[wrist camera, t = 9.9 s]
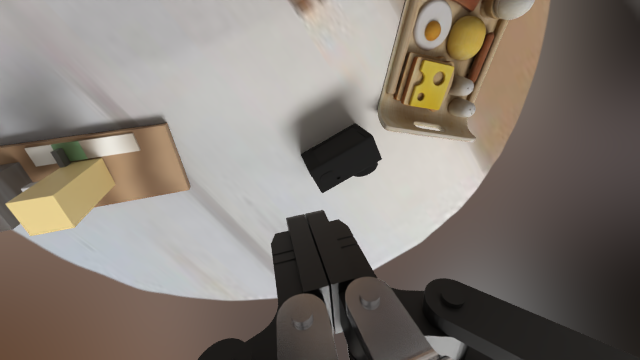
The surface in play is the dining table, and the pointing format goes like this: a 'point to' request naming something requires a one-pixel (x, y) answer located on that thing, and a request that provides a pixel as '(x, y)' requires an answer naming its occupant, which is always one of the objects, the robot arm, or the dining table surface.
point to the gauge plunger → (62, 195)
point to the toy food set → (442, 64)
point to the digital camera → (342, 157)
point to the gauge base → (112, 146)
